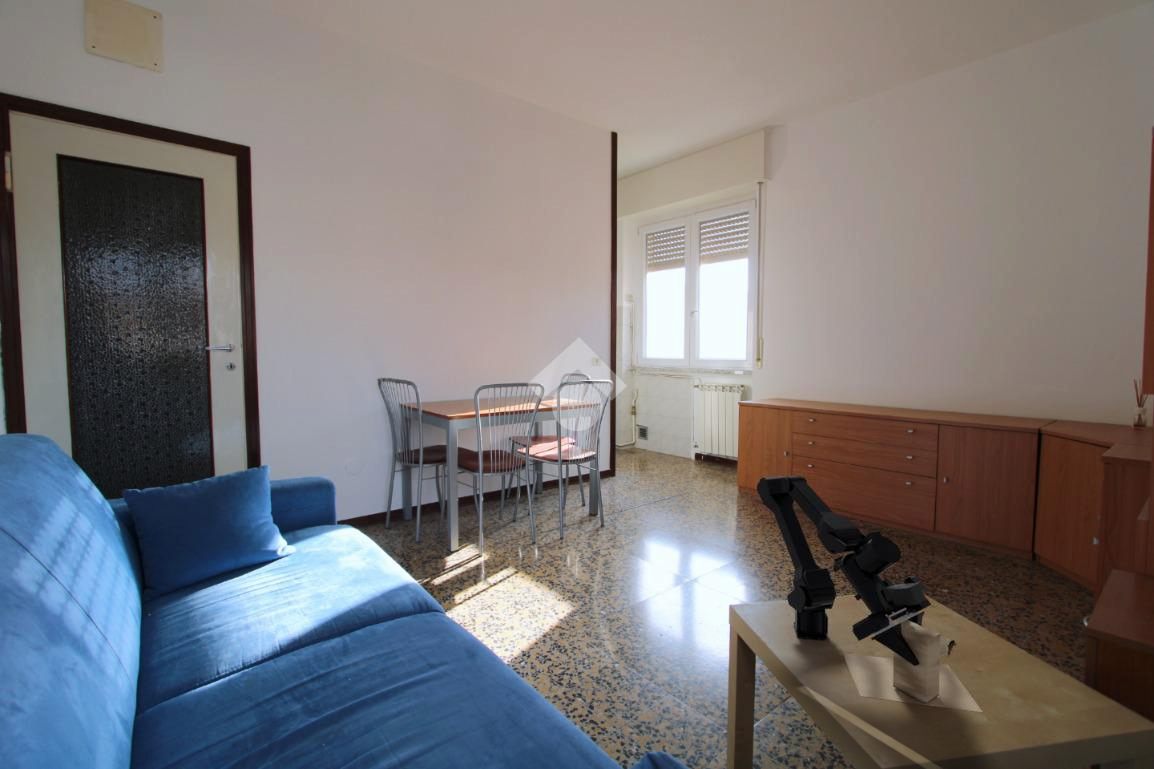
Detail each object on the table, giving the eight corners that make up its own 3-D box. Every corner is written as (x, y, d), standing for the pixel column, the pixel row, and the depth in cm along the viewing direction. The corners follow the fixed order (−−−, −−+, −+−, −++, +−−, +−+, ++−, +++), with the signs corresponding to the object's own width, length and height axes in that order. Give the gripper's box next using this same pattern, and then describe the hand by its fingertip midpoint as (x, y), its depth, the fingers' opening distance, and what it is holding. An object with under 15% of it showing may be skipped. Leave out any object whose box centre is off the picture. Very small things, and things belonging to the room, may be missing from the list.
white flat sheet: (860, 702, 101) (860, 696, 101) (842, 658, 115) (842, 652, 115) (982, 718, 96) (983, 712, 96) (947, 670, 110) (948, 664, 110)
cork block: (893, 686, 103) (894, 626, 102) (905, 678, 105) (906, 619, 104) (926, 703, 98) (927, 640, 97) (938, 695, 100) (940, 633, 99)
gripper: (868, 575, 99) (931, 661, 90) (921, 554, 108) (983, 631, 99) (829, 600, 106) (884, 682, 97) (882, 578, 115) (936, 651, 107)
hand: (924, 661), depth 100 cm, fingers closed on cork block, 4 cm apart
